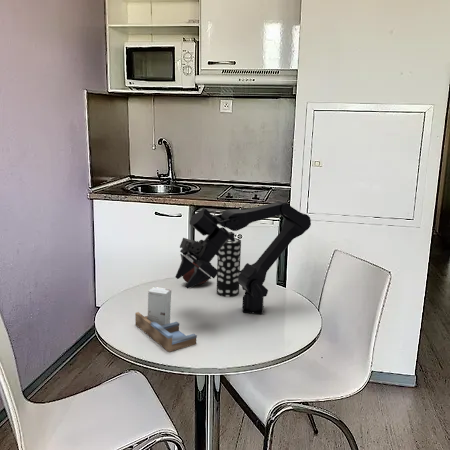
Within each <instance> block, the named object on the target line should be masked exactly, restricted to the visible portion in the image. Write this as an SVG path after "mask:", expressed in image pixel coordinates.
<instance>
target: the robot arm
mask: <svg viewBox="0 0 450 450" xmlns="http://www.w3.org/2000/svg"><path fill="white" fill-rule="evenodd" d="M277 216H281V217H282V218H283V219H284V220H283V224H282V229H281V231H280V232H279V233H278V234H277V236H276V237H275V238H274V239H273V240H272V241H271V243H270V244H269V246H267V247H266V249H265V250H264V252H263V253H262V254H261V255H260V256H259V257H258V259H257V260H256V261H255V262H254V263H252V264H250V263H248V262H247V263H246V264H245V265H244V267H243V268H242V269H240V271H239V272H240V274H239V276H238V282H239V286H241V288H242V290H243V291H244V294H243V296H242V307H241V308H242V310H243V311H242V312H243V313H247V314H254V315H255V314H257V315H259V314H260V315H263V312H264V308H265V306H264V299H265V297H267V295H268V292H269V289H267V287H266V286H264V285H263V284H264V283H265V281H266V277H267V273H268V271H269V269H271V267H272V266H273V265H274V264H275V262H276V261H277V260H278V259H279V258H280V256H281V255H282V254H283V252H284V251H285V250H286V249H287V248H288V247H289V246H290V244H291V243H292V241H293V240H294V239H296V238H298V237H300V236H302V235H303V234H305V232H306V231H308V230H309V229H310V228H311V224H312V223H311V222H312V220H311V217H310V216H309V215H308V214H306V213H303V212H300V211H299V210H298V209H295V207H293V206H291V205H290V204H289V203H288V202H285V201H283V200H278V201H275V202H272V203H267V204H264V205H260V206H255V207H251V208H247V209H242V208H241V209H238V208H237V209H236V208H235V209H231V208H230V209H225V210H224V211H223V212H222V213H220V214H217V215H213V214H212V213H211V212H210V211H209V210H208V209H207V208H205V207H203V208H202V209H201V210H199V211H197V212H196V213H194V214H192V216H191V218H190V220H189V226H191V227H192V228H193V229H195V230H196V231H197V232H198V233H199V234H201V235H202V236H203V237H204V236H206V237H205V238H204V239H200V240H199V241H198V240H195V239H193V240H192V239H189V238H186V237H182V239H181V243H180V244H179V248H180V251H179V252H180V255H179V256H180V258H181V262H180V265H179V267H178V269H177V272H176V274H175V278H176V280H178V279H181V278H183V275H185V274H186V273H187V272H189V271H190V270H191V269H193V268H194V273H193V275H192V276H191V278H190V279H189V281H188V282H186V284H185V289H187V290H188V289H190V288H193V287H195V286H196V285H197V284H199V283H201V282H203V281H205V280H208V279H209V280H211V279H212V278H213V279H215V278H217V274H218V270H217V268H216V267H214V265H212V263H211V261H212V260H213V259H214V258H215V257H216V256H217V257H218V255H219V254H220V253H219V252H218V251H219V250H220V249H221V247H222V246H223V245H224V244H225V242H226V241H227V240H228V239H229V240H231V241H233V242H234V241H235V239H234V238H235V233H234V232H237V231H240V230H242V229H244V228H246V227H247V226H249V225H250V224H251V223H254V222H258V221H262V220H266V219H267V220H268V219H270V218H275V217H277ZM218 225H219V226H221V227H219V226H218ZM227 229H228V230H227ZM229 230H230V231H229ZM193 262H194V263H195V264H197V266H199V268H198V267H197V266H195V265H194V264H193ZM210 276H211V277H210ZM209 280H208V281H209ZM199 285H200V284H199ZM197 286H198V285H197Z"/></svg>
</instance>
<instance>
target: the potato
mask: <svg viewBox="0 0 450 450" xmlns="http://www.w3.org/2000/svg"><path fill="white" fill-rule="evenodd" d="M193 264H194V265H195V266H197V264H195V263H194V262H193ZM197 267H198V268H199V266H197ZM193 273H194V268H193V269H191V270H190V271H189V272H187V273H186V274H185V275H183V276H182V279H183V280H184V281H185V282H186V283H187V282H188V281H189V279H190V278H191V276H192V275H193ZM210 278H212V277H211V276H210ZM209 280H210V279H208V280H205V281H203V282H201V283H199V284H197V286H198V285H203V284H206V283H207V282H208V281H209Z"/></svg>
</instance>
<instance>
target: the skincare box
mask: <svg viewBox="0 0 450 450" xmlns="http://www.w3.org/2000/svg"><path fill="white" fill-rule="evenodd" d="M147 294H148V295H147V316H148V320H149V321H151V322H156V323H158V324H159V325H160V326H161V325H165V324H169V323H171V306H172V305H171V303H172V289H168V288H165V287H157V286H153V287H152V288H150V289H149V290H148V292H147Z"/></svg>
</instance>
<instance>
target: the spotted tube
mask: <svg viewBox="0 0 450 450" xmlns="http://www.w3.org/2000/svg"><path fill="white" fill-rule="evenodd" d="M234 239H235V241H234V242H233V241H231V240H229V239H228V240H227V241H226V242H225V244H224V245H223V246H222V247H221V249H220V250H219V251H218V252H219V253H220V254H219V255H218V256H217V264H216V265H217V266H216V267H217V268H216V269H217V270H218V274H217V275H216V294H217V295H218V296H221V297H226V298H233V297H236V296H238V295H239V294H240V284H239V282H238V276H239V274H240V272H239V271H241V253H242V252H241V249H242V240H241V239H239V238H236V237H234Z"/></svg>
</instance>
